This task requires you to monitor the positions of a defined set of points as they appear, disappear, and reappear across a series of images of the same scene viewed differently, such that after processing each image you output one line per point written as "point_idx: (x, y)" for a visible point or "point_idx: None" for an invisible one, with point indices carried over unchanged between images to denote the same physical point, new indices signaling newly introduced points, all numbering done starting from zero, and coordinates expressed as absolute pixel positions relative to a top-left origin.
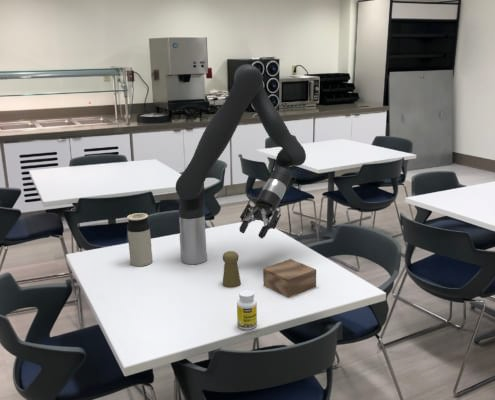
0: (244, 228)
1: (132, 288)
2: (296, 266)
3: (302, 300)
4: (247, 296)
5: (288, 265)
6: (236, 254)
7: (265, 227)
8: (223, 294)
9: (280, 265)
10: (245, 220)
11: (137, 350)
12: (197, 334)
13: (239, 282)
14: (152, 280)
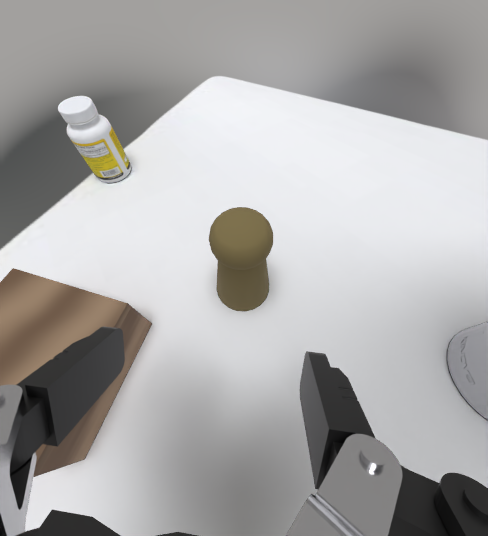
0: (307, 403)
1: (408, 168)
2: None
3: None
4: (68, 98)
5: None
6: (213, 233)
7: (22, 390)
8: None
9: None
10: (344, 449)
11: (225, 88)
12: (178, 129)
13: (217, 287)
14: (420, 207)
